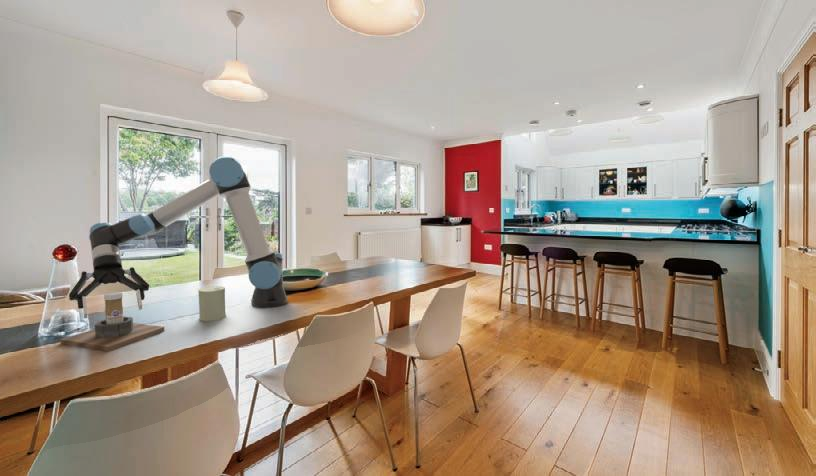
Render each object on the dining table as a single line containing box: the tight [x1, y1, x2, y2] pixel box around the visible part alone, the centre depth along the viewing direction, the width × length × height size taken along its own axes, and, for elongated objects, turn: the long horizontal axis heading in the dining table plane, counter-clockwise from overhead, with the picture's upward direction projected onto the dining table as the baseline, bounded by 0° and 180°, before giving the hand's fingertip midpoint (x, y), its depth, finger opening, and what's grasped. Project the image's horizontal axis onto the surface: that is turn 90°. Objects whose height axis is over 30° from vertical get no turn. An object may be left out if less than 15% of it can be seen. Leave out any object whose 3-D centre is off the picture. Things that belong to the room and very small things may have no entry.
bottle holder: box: [59, 315, 165, 352], centre depth 113 cm, size 20×18×6 cm
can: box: [198, 285, 227, 322], centre depth 135 cm, size 9×9×12 cm
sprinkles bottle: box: [103, 291, 124, 325], centre depth 113 cm, size 5×5×14 cm
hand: (114, 311), depth 111 cm, fingers open, 13 cm apart
